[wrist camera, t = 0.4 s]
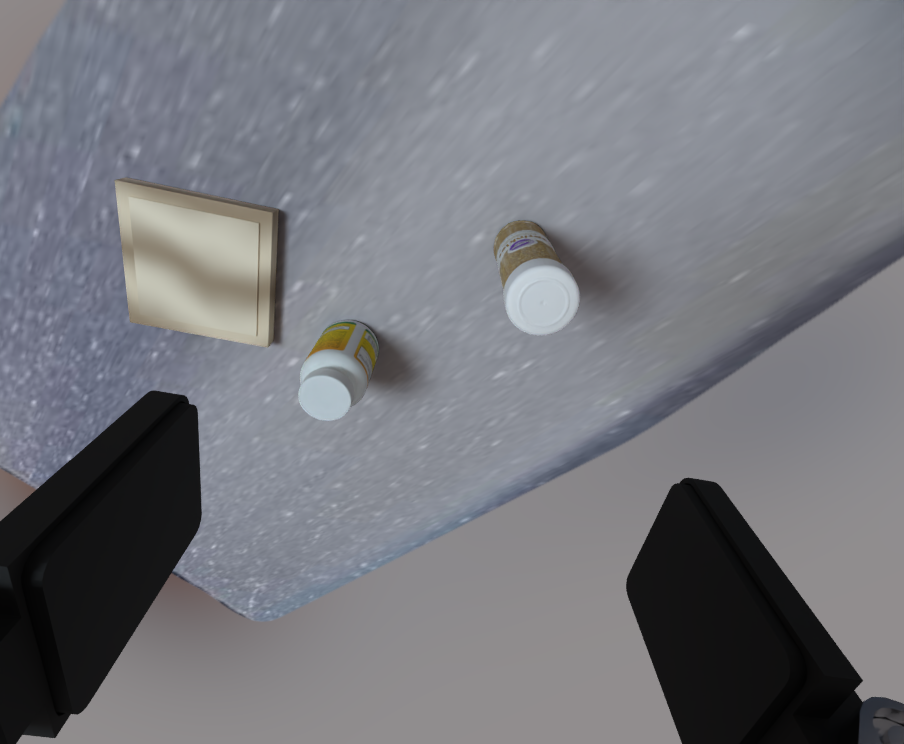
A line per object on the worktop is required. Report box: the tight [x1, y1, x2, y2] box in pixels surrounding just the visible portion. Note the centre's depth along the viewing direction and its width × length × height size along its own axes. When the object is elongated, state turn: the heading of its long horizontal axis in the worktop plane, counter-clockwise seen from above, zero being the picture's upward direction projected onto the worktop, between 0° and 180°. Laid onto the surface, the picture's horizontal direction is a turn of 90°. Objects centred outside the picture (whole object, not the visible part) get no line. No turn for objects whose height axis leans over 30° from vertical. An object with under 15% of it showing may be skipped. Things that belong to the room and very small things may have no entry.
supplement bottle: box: [299, 320, 379, 421], centre depth 42 cm, size 5×5×10 cm
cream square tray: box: [115, 178, 279, 348], centre depth 42 cm, size 12×12×2 cm
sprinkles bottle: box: [494, 221, 580, 336], centre depth 36 cm, size 5×5×13 cm
